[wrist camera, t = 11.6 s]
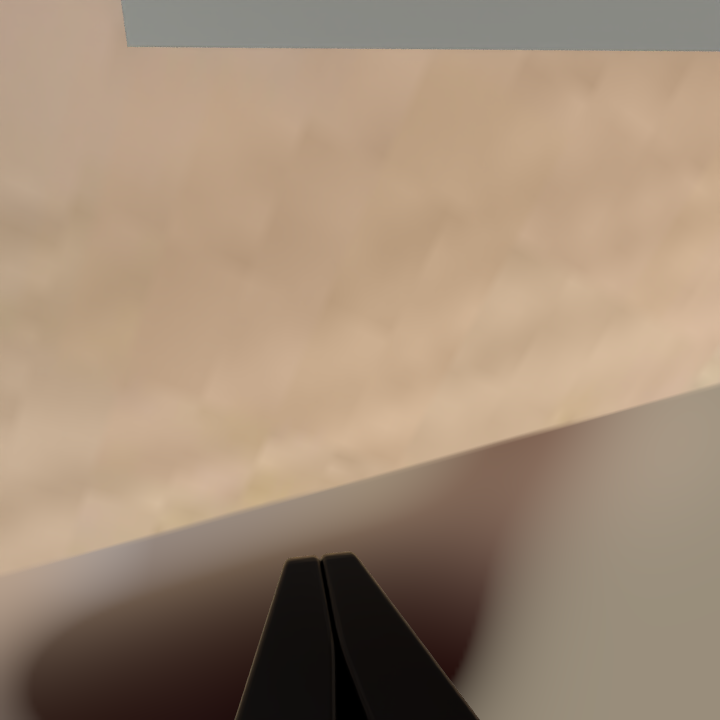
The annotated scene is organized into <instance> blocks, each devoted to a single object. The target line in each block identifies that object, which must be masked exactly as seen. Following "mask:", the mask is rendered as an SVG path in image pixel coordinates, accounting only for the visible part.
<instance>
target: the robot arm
mask: <svg viewBox="0 0 720 720" xmlns="http://www.w3.org/2000/svg"><path fill="white" fill-rule="evenodd" d="M235 720H480V719H479V718H478V717H477V715H476V714H475V713H474V711H473V710H472V709H471V708H470V706H469V705H468V703H467V702H466V701H465V699H464V698H463V697H462V695H461V694H460V693H459V691H458V690H457V689H456V688H455V686H454V685H453V683H452V682H451V681H450V679H449V678H448V677H447V676H446V674H445V673H444V672H443V670H442V669H441V667H440V666H439V665H438V663H437V662H436V661H435V659H434V658H433V657H432V656H431V654H430V653H429V651H428V650H427V649H426V647H425V646H424V645H423V643H422V642H421V641H420V640H419V638H418V637H417V635H416V634H415V633H414V631H413V630H412V629H411V627H410V626H409V625H408V623H407V622H406V621H405V619H404V618H403V617H402V615H401V614H400V613H399V611H398V610H397V609H396V608H395V606H394V605H393V603H392V602H391V601H390V599H389V598H388V597H387V595H386V594H385V593H384V592H383V590H382V589H381V587H380V586H379V585H378V583H377V582H376V581H375V579H374V578H373V577H372V575H371V574H370V573H369V572H368V570H367V569H366V568H365V566H364V565H363V564H362V562H361V561H360V559H359V558H358V557H357V556H356V555H355V554H354V553H352V552H349V551H346V552H338V553H329V554H324V555H323V556H321V558H320V559H319V558H318V557H317V556H314V555H311V556H302V557H293V558H289V559H287V560H286V561H285V563H284V565H283V568H282V572H281V575H280V578H279V581H278V584H277V587H276V591H275V594H274V597H273V601H272V603H271V606H270V610H269V613H268V616H267V619H266V623H265V625H264V629H263V632H262V635H261V638H260V641H259V645H258V648H257V651H256V654H255V657H254V660H253V664H252V667H251V670H250V673H249V676H248V679H247V682H246V686H245V689H244V692H243V695H242V698H241V701H240V705H239V708H238V711H237V714H236V717H235Z"/></svg>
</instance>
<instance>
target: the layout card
mask: <svg viewBox="0 0 720 720" xmlns="http://www.w3.org/2000/svg"><path fill="white" fill-rule="evenodd" d="M121 3H122V10H123V17H124V24H125V32H126V39H127V46H128V47H220V48H349V49H479V50H609V51H720V0H121Z"/></svg>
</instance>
